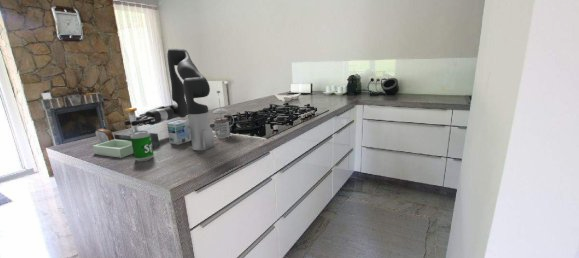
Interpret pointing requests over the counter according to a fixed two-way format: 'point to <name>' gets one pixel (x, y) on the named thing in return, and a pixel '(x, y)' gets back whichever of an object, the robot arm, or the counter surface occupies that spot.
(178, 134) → the light bulb box
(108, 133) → the bread slice
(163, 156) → the counter surface
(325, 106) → the counter surface
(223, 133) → the french press
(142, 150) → the soda can
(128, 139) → the hitch bar
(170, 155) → the counter surface
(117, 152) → the tray
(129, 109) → the gold capped white cylinder
